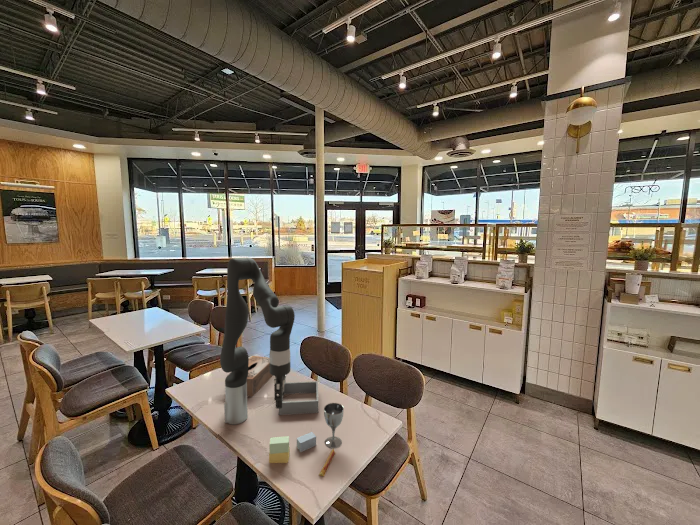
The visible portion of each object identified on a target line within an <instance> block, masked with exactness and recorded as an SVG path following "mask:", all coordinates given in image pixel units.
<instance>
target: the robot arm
mask: <svg viewBox="0 0 700 525" xmlns="http://www.w3.org/2000/svg"><path fill="white" fill-rule="evenodd" d="M226 269H227V270H226V276H227V277H226V279H227V280H226V281H227V283H226V284H227V285H226V286H227V291H226V293H227V294H226V296H227V297H226V308H225V316H224V317H225V318H224V332H223V334H224V335H223V340H222V346H221V352H220V359H219V362H220V363H219V364H220V367H221V370H222V371H223V372H225V373H226V374H227V373H229V374H227V375H226V377H225V378H224V379H225V380H224V386H225V388H224V389H225V391H224V392H225V393H224V394H225V399H224V404H223V408H224V423H226V424H229V425H239V424H242V423H243V422H245V421H246V420H247V418H248V396H247V377H248V365H249V358H250V357H249V354H248V351H247V349H246V348H245V347H244V346H237V344H238V341H239V339H240V338H241V336H242V334H243V332H244V331H245V329H246V327H247V324H248V321H249V320H248V319H249V305H248V304H247V302H246V301H245V299H244V298H243V296H242V295H241V292H240V288H239V283H240V281H245V280H251V281H253V283H254V284H253V289H252V294H253V296H252V297H253V298H254V300H255V302H256V303H257V304H258V306H259V307H260V309H261V311H262V315H263V318H264V323H265V324H266V325H267V326H268V327H270V328H273V329H275V328H277V330H275V331H273V332H272V333H271V334H270V335H269V355H268V356H269V357H268V358H269V361H270V374H271V375H273V376H272V377H274V379H273V383H274V388H273V390H274V393H273V395H274V398H273V400H274V401H275V409H277V410H279V409H281V408H282V398H283V399H284V396H285V394H284V385H285V383H287V382H286V380H287V375H288V374H290V372H291V348H290V347H291V345H290V344H291V341H290V340H291V333H292V330H293V326H294V323H295V318H296V317H295V316H296V315H295V311H294V308H293V307H292V306H290V305H287V304H286V305H280V306H279V304H280V301H279V300H280V299H279V298H278V296H277V295H276V294H275V293H274V291H273V290H272V289H271V287H270V286H269V284H268V283H267V281H266V279H265V277H264V275H263V272H262V271H261V269H260V267H259V265H258V263H257V262H256V260H255V259H253V257H252V258H251V257H233V258H231V259H229V260H228V263H227V268H226ZM236 346H237V347H236ZM282 395H284V396H282Z"/></svg>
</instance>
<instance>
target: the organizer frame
mask: <svg viewBox="0 0 700 525" xmlns="http://www.w3.org/2000/svg"><path fill="white" fill-rule="evenodd" d="M295 393H299V394H315V397H316V399H311V400H310V399H309V400H294V401H293V400H291V401H290V400H289V401H284V397H285V395H295ZM282 396H283V398H282V408H281V409H278V415H279V416H284V415H286V416H287V415H303V414H304V413H305V414H318V413H319V381H318V380H317V381H314V380H313V381H293V382H291V381H290V382H286V383H285V385H284V395H282Z"/></svg>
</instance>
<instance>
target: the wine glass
mask: <svg viewBox="0 0 700 525" xmlns="http://www.w3.org/2000/svg"><path fill="white" fill-rule="evenodd" d="M344 413H345V412H344V406H343V405H342V404H341V403H339V402H329V403H327V404H326V405H324V407H323V418H324V420H325V421H324V422H325V423H326V425H327V426H328V427H329V428H330V429H331V432H332V436H329V437H327V438H326V439H325V440H324V445H325V446H326V447H327V448H328V449H334V450H335V449H338V448H340V447H341V446H342V444H343V441H342V439H341V438H340V437H339V436H335V433H336V430H337V428H338V427H339V426H340V425H341V424H342V422H343V418H344Z"/></svg>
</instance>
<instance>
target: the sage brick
mask: <svg viewBox="0 0 700 525" xmlns="http://www.w3.org/2000/svg"><path fill="white" fill-rule="evenodd" d="M268 447H269V448H268V449H269V452H270V454H275V453H286V452H289V447H290V436H289V435H287V436H276V437H275V436H274V437H270V439H269V446H268Z"/></svg>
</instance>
